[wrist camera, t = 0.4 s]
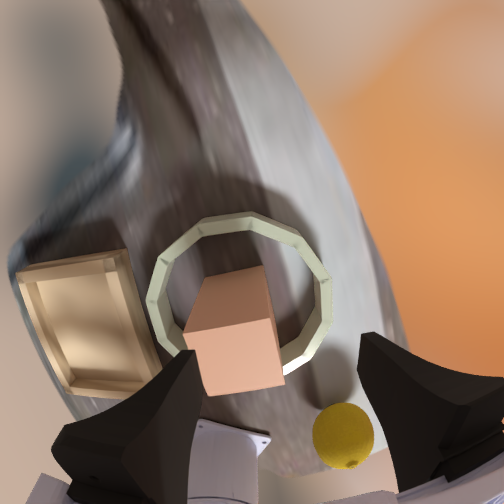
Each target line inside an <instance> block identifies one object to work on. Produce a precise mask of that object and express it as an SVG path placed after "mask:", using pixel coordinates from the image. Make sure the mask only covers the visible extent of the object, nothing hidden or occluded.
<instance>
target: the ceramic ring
mask: <svg viewBox="0 0 504 504" xmlns="http://www.w3.org/2000/svg"><path fill="white" fill-rule="evenodd" d="M245 230H252V231H255V232H257V233H260V234H262V235H265V236H267V237H269V238H272V239H274V240H277V241H279V242H282V243H284V244H287V245H289V246H292V247H294V248H295V249H296V250H297V252H298V253H299V254H300V256H301V257H302V258H303V260H304V261H305V262H306V264H307V265H308V266H309V268H310V269H311V271H312V272H313V280H314V296H315V307H314V309H313V311H312V313H311V315H310V316H309V318H308V320H307V322H306V324H305V326H304V327H303V329H302V331H301V333H300V335H299V336H298V337H297V338H296V339H294V340H293V341H291V342H289V343H288V344H286V345H285V346H283V347H282V348H280V354H281V360H282V367H283V373H284V375H286V374H287V373H289V372H291V371H292V370H294V369H296V368H297V367H299V366H301V365H302V364H304V363H305V362H307V361H309V360H310V359H311V358H312V357H313V355H314V353H315V352H316V350H317V348H318V347H319V345H320V344H321V342H322V340H323V338H324V337H325V335H326V333H327V332H328V330H329V328H330V326H331V325H332V323H333V302H332V278H331V276H330V275H329V273H328V272H327V270H326V269H325V268H324V266H323V265H322V263H321V262H320V261H319V259H318V258H317V256H316V255H315V254H314V252H313V251H312V249H311V248H310V247H309V245H308V244H307V243H306V241H305V240H304V238H303V237H302V236H301V234H300V233H299V232H298V231H297V229H294V228H292V227H289V226H287V225H285V224H282V223H280V222H277V221H275V220H273V219H270V218H268V217H265V216H263V215H260V214H258V213H255V212H253V211H248V212H241V213H233V214H226V215H219V216H213V217H206V218H202V219H201V220H200V221H199V222H197V223H196V224H195V225H194V226H193V227H191V228H190V229H189V230H188V231H187V232H185V233H184V234H183V235H182V236H181V237H179V238H178V239H177V240H176V241H175V242H173V243H172V244H171V245H170V246H169V247H168V248H167V249H166V250H165V251H163V252H162V253H161V254H160V255H159V256H158V259H157V262H156V265H155V269H154V272H153V275H152V279H151V282H150V286H149V289H148V293H147V297H146V304H147V308H148V311H149V314H150V318H151V321H152V324H153V328H154V331H155V334H156V337H157V340H158V342H159V343H160V344H161V345H162V346H163V347H164V348H165V349H166V350H167V351H168V352H169V353H170V354H171V355H172V356H173V357H175V356H176V355H177V354H178V353H179V352H180V351H181V350H189V349H188V347H187V344H186V342H185V339H184V336H183V331H182V330H181V329H180V328H179V327H178V326H177V325H176V323H175V322H174V318H173V315H172V311H171V307H170V303H169V300H168V296H167V292H166V286H167V283H168V280H169V277H170V273H171V270H172V267H173V264H174V261H175V258H176V257H178V256H179V255H180V254H181V253H182V252H184V251H185V250H186V249H187V248H189V247H190V246H191V245H192V244H194V243H195V242H196V241H197V240H198V239H200V238H201V237H202V236H209V235H216V234H223V233H230V232H237V231H245Z"/></svg>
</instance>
